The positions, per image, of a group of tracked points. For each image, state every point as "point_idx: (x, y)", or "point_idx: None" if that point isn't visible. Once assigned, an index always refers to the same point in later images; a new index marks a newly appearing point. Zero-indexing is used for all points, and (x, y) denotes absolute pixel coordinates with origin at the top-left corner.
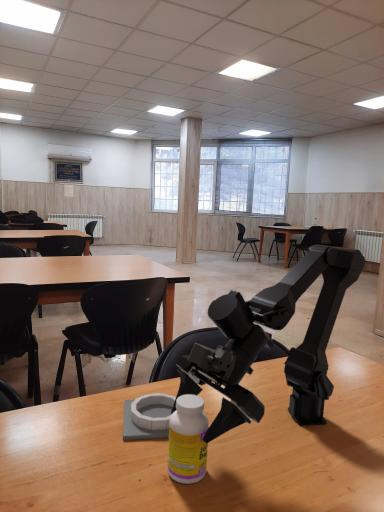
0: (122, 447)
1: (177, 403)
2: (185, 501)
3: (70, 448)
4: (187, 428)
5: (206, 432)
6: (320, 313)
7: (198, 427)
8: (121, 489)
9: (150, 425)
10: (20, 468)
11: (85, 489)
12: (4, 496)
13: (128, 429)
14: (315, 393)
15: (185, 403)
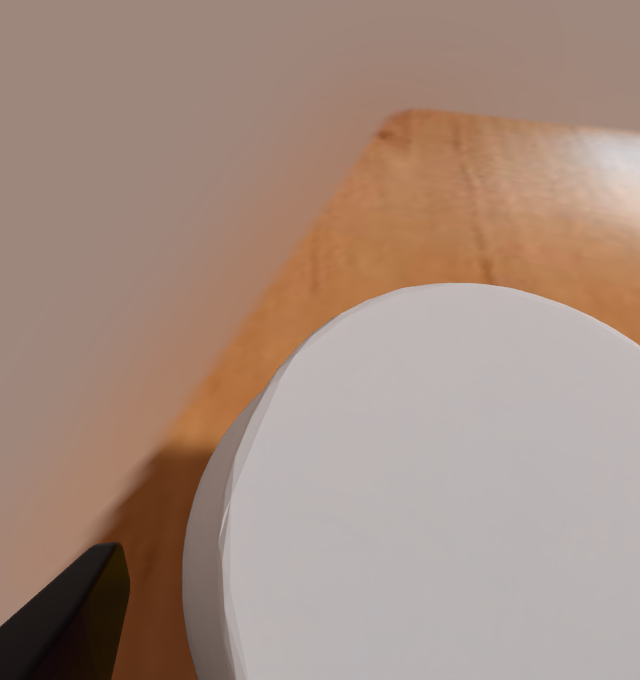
0: None
1: (486, 286)
2: (185, 455)
3: (580, 234)
4: (241, 416)
5: (76, 594)
6: None
7: (191, 538)
8: (348, 294)
9: None
10: (514, 139)
11: (388, 222)
12: (427, 109)
13: None
14: None
15: (446, 383)
